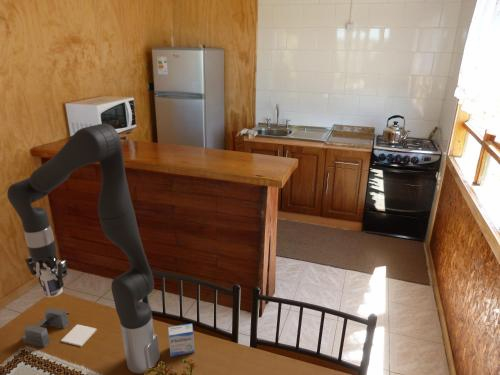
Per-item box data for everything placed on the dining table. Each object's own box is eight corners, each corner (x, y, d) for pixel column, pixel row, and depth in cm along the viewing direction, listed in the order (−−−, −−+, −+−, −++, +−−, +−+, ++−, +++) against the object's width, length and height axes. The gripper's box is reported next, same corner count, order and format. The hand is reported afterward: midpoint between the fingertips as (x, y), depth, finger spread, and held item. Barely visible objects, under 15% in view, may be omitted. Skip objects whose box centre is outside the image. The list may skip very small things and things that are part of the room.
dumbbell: (73, 320, 137) (70, 306, 135) (44, 347, 125) (40, 333, 122) (52, 315, 139) (49, 302, 137) (22, 342, 127) (18, 328, 125)
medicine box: (170, 357, 121) (168, 336, 118) (169, 347, 125) (167, 326, 122) (195, 352, 122) (193, 331, 119) (193, 342, 127) (192, 322, 123)
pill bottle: (65, 287, 126) (59, 262, 122) (58, 297, 121) (52, 271, 117) (49, 288, 125) (42, 263, 122) (41, 298, 120) (34, 272, 117)
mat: (96, 329, 132) (96, 328, 132) (81, 346, 125) (81, 345, 125) (77, 325, 134) (77, 324, 134) (61, 341, 127) (61, 340, 127)
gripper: (68, 237, 118) (78, 283, 124) (31, 233, 121) (43, 277, 127) (50, 249, 111) (62, 296, 117) (11, 244, 115) (25, 290, 121)
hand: (52, 286), depth 122 cm, fingers closed on pill bottle, 5 cm apart
